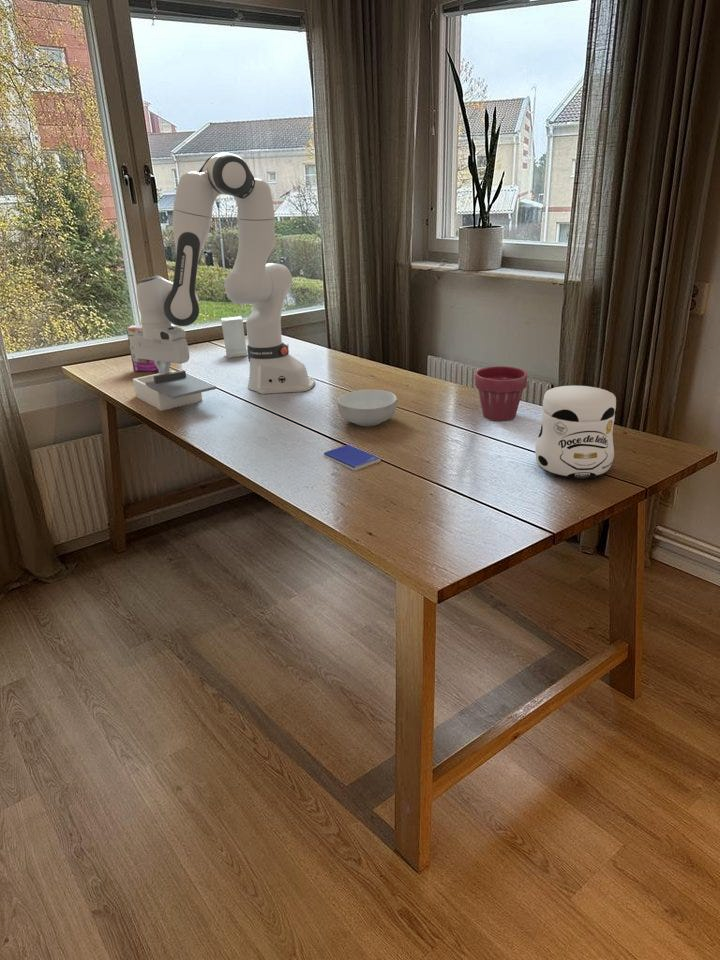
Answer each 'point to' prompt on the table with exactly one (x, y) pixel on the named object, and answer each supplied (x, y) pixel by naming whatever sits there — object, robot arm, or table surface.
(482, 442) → the table surface
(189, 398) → the base
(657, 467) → the table surface
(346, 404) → the cereal bowl
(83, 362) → the table surface
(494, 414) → the plant pot
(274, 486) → the table surface
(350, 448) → the blue book
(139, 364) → the candy bar box
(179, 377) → the grey flat rectangular panel
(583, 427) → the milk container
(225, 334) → the skincare box
